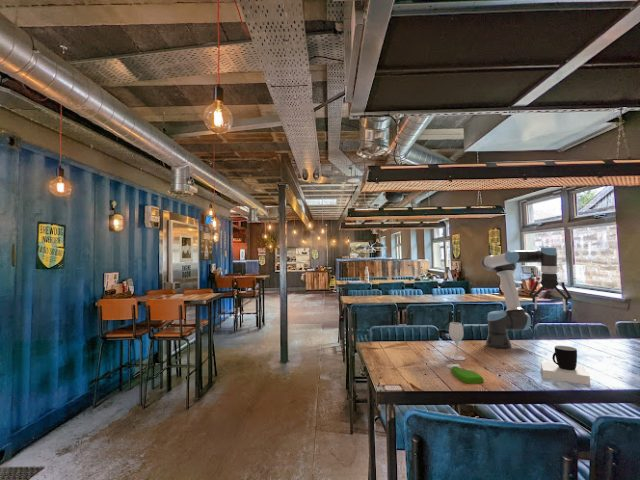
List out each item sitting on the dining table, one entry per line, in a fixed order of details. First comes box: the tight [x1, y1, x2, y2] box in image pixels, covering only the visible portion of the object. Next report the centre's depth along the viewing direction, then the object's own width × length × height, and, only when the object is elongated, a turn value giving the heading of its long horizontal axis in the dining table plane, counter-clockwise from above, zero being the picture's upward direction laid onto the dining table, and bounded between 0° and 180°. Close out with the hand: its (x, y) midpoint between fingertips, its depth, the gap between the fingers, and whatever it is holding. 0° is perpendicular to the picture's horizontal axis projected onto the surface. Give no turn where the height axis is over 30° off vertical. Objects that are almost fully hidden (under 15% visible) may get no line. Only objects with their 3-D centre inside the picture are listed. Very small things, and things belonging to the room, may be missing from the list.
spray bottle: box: [446, 363, 485, 384], centre depth 164 cm, size 3×11×24 cm
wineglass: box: [448, 321, 466, 361], centre depth 192 cm, size 9×9×21 cm
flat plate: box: [540, 360, 591, 386], centre depth 159 cm, size 18×16×4 cm
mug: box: [552, 345, 578, 370], centre depth 159 cm, size 12×9×10 cm
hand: (549, 309), depth 184 cm, fingers open, 13 cm apart
